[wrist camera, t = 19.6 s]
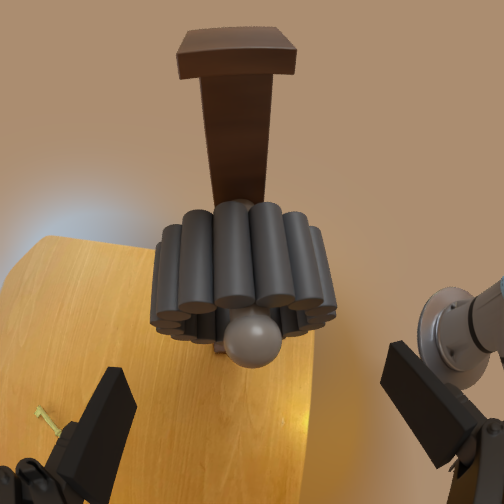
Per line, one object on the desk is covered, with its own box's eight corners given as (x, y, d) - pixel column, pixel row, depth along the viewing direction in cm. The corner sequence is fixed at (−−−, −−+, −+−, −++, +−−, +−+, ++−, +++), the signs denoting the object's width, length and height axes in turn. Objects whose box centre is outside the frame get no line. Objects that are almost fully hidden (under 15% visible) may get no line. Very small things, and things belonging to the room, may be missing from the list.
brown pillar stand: (212, 308, 47) (139, 35, 10) (270, 303, 47) (321, 27, 11) (218, 391, 39) (-14, 289, 3) (280, 385, 40) (511, 246, 4)
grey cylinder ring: (304, 340, 21) (371, 289, 12) (167, 345, 20) (127, 294, 10) (296, 285, 24) (347, 205, 15) (169, 287, 22) (142, 201, 13)
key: (42, 403, 34) (35, 403, 32) (87, 438, 33) (81, 439, 31) (34, 431, 31) (28, 431, 29) (79, 466, 29) (73, 468, 27)
